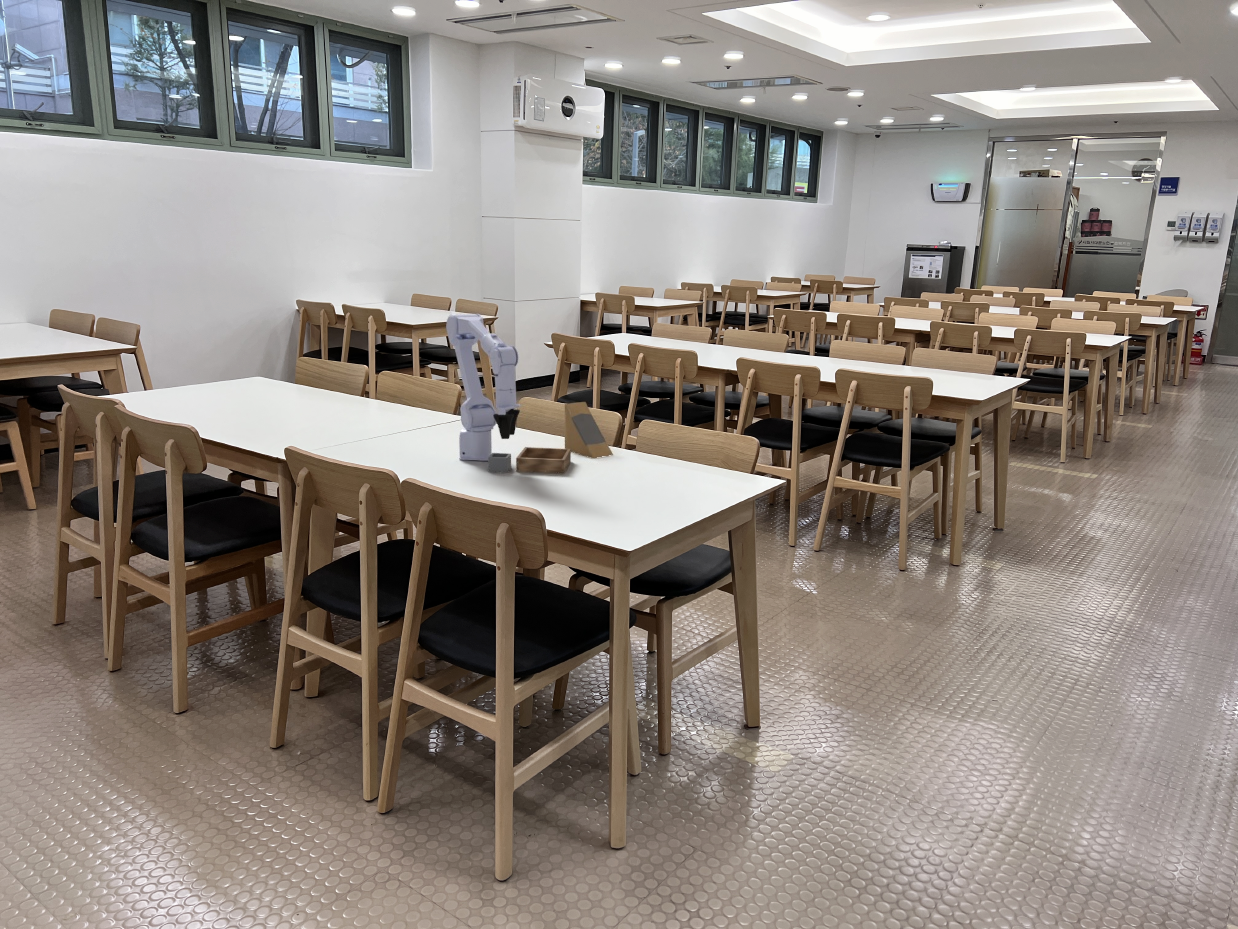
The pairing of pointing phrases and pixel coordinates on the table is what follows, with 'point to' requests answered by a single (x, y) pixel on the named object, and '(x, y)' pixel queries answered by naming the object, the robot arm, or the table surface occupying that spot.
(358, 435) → the table surface
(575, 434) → the sandwich container
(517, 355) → the robot arm
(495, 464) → the small crate
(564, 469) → the large crate
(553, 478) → the table surface
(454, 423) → the table surface
